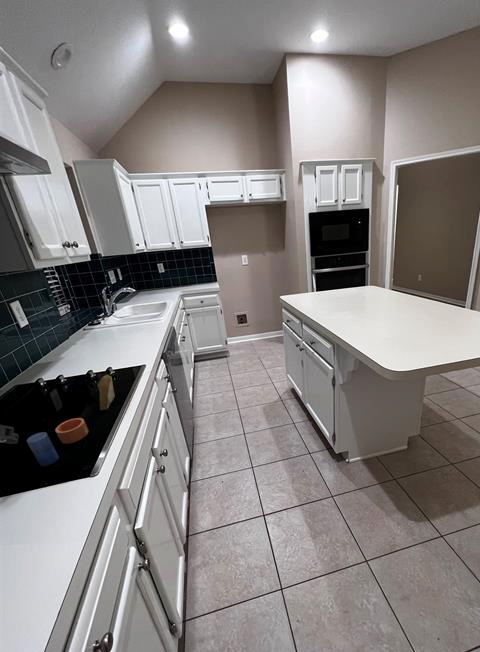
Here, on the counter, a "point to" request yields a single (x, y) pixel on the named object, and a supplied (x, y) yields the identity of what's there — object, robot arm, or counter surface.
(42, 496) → the counter surface
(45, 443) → the blue cylinder
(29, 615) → the counter surface
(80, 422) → the ring
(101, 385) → the rock
